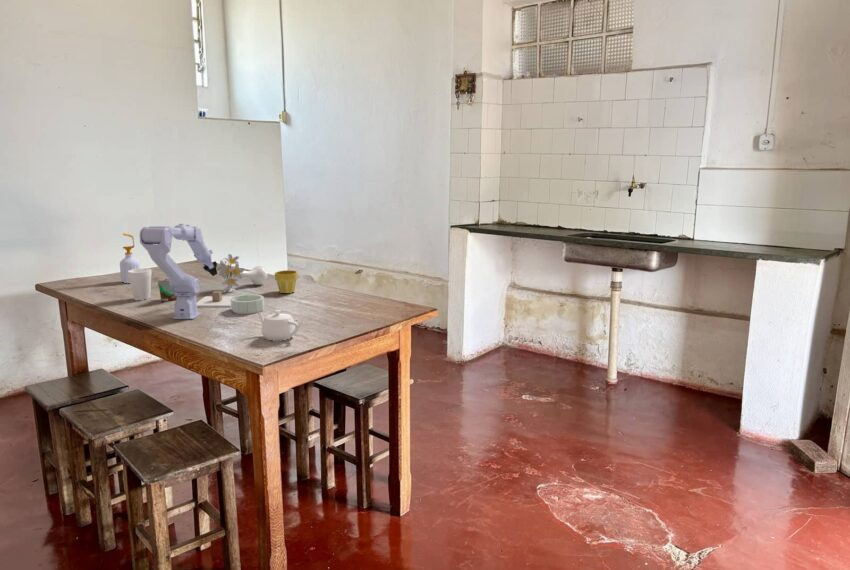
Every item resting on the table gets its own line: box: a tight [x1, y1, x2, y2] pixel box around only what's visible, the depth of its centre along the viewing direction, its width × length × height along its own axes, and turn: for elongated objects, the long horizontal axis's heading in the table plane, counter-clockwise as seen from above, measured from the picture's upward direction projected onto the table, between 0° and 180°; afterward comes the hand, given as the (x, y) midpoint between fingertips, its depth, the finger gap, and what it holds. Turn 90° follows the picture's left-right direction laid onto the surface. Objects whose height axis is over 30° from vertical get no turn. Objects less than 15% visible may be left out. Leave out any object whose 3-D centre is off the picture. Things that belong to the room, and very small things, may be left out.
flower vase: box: [216, 253, 269, 293], centre depth 297 cm, size 13×18×25 cm
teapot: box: [257, 309, 300, 341], centre depth 221 cm, size 20×12×10 cm, turn 58°
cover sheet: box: [196, 290, 236, 308], centre depth 270 cm, size 16×16×5 cm
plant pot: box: [274, 269, 298, 294], centre depth 289 cm, size 10×10×10 cm
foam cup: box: [128, 268, 153, 301], centre depth 276 cm, size 10×9×13 cm
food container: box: [157, 278, 177, 303], centre depth 274 cm, size 12×6×10 cm, turn 168°
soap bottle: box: [119, 232, 141, 284], centre depth 309 cm, size 9×9×25 cm
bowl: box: [230, 293, 266, 315], centre depth 257 cm, size 13×13×6 cm
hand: (210, 269), depth 268 cm, fingers open, 7 cm apart
